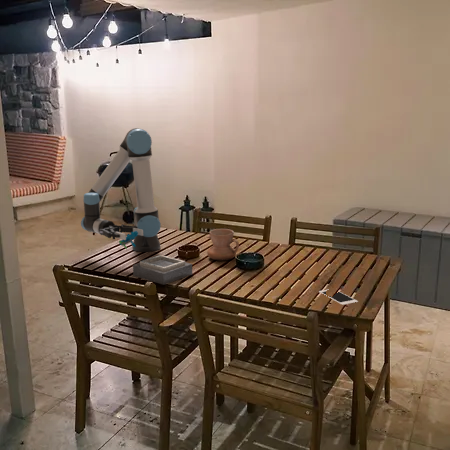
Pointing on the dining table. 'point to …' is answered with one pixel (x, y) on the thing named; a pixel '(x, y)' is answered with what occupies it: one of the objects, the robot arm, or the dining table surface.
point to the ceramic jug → (222, 244)
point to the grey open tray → (162, 269)
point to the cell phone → (340, 298)
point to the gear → (129, 239)
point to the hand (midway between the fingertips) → (134, 234)
